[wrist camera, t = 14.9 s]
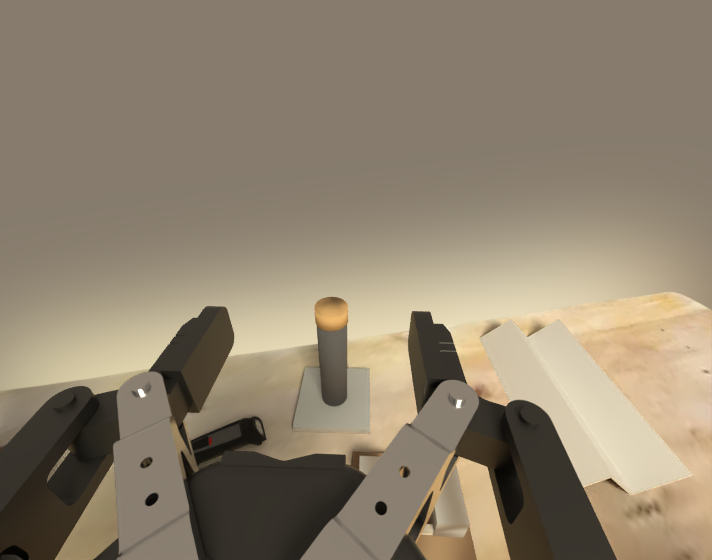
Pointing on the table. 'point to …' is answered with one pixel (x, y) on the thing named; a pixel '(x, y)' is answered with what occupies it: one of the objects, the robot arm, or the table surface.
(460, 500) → the clamp block
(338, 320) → the grey orange cylinder
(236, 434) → the electric trimmer
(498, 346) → the z bracket
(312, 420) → the rubber mat
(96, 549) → the table surface
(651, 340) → the table surface
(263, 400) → the table surface
